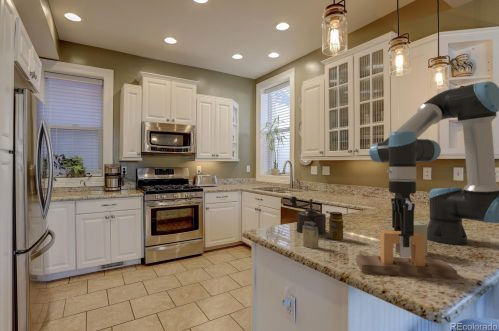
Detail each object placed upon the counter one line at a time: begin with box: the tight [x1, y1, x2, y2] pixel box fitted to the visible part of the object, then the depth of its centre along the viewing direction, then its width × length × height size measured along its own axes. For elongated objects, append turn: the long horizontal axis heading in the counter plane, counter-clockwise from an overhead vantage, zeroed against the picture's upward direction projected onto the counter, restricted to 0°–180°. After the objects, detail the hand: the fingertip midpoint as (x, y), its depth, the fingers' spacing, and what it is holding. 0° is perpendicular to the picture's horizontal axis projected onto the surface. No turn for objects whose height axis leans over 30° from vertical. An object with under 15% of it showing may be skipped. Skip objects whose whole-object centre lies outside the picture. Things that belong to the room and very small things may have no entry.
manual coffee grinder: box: [288, 195, 327, 235], centre depth 133 cm, size 16×11×18 cm
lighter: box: [302, 221, 319, 249], centre depth 110 cm, size 7×4×10 cm, turn 42°
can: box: [410, 219, 429, 257], centre depth 102 cm, size 9×9×12 cm
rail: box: [355, 254, 458, 280], centre depth 85 cm, size 26×9×2 cm, turn 79°
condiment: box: [322, 211, 348, 243], centre depth 121 cm, size 7×8×12 cm
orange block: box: [380, 229, 426, 266], centre depth 85 cm, size 12×4×10 cm, turn 79°
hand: (402, 254), depth 85 cm, fingers closed on orange block, 4 cm apart
